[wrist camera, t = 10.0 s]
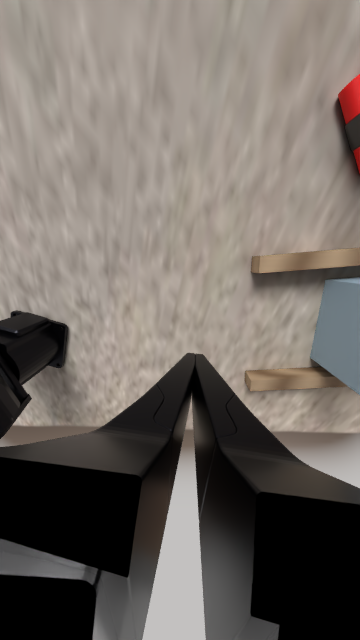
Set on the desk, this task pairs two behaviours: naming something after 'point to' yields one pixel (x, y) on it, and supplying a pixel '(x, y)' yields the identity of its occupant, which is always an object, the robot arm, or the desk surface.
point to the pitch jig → (298, 376)
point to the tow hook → (352, 115)
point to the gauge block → (339, 331)
